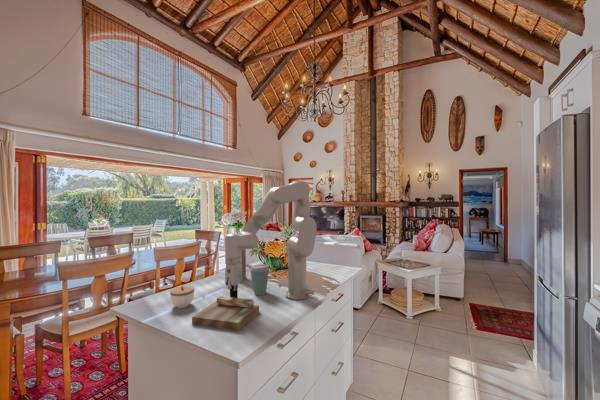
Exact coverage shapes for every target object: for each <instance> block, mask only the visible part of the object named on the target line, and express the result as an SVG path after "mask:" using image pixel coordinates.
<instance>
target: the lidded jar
mask: <svg viewBox="0 0 600 400" xmlns="http://www.w3.org/2000/svg"><path fill="white" fill-rule="evenodd" d="M169 293H170V301H171V304H172V305H173V306H174V307H175V308H176V307H177V308H176V309H185V308H187V307H189V306H190V305H191V303H192V302H193V300H194V298H195V297H194V296H195V287H193V286H191V285H190V286H189V285H188V286H184V285H183V286H182V285H181V286H178V287H175V288H172V289H171V290H170V291H169Z"/></svg>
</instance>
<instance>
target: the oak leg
mask: <svg viewBox="0 0 600 400" xmlns="http://www.w3.org/2000/svg"><path fill="white" fill-rule="evenodd" d="M216 301H217V304H222V305H231V306H239V307H248V308H251V307H252V306H253V305H255V304H254V299H251V298H250V299H249V298H240V297H238V298H233V297H230V296H224V295H223V296H222V295H220V296H218V297H217V298H216Z"/></svg>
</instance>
